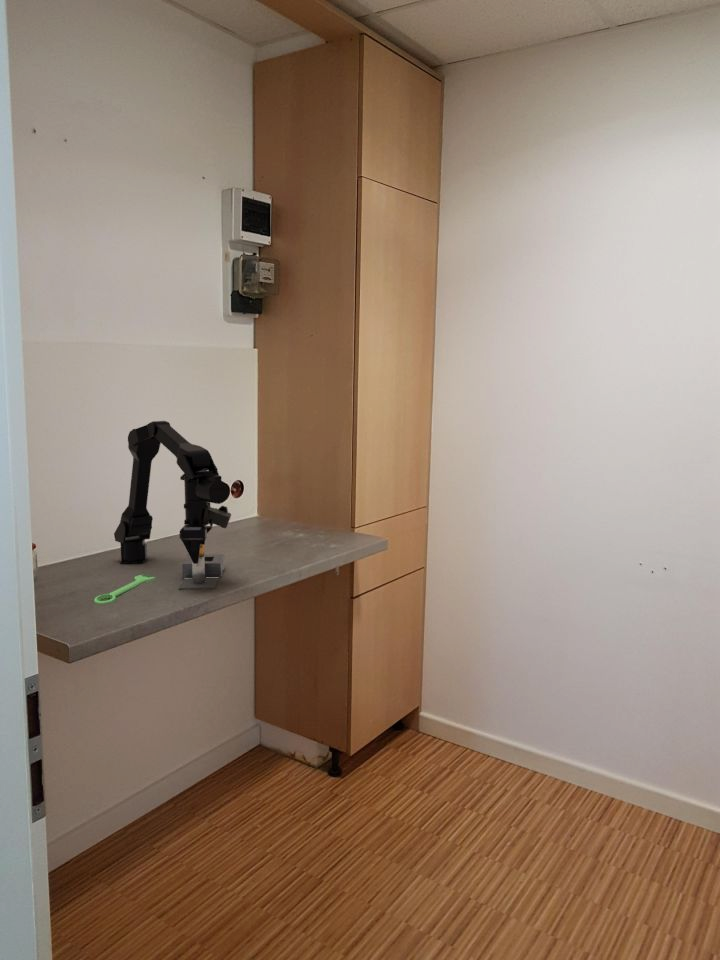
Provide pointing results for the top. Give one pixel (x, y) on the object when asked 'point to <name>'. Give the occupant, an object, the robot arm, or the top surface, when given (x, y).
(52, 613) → the top surface
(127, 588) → the wrench
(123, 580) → the top surface
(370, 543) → the top surface
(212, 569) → the block
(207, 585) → the rubber mat
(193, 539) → the robot arm
